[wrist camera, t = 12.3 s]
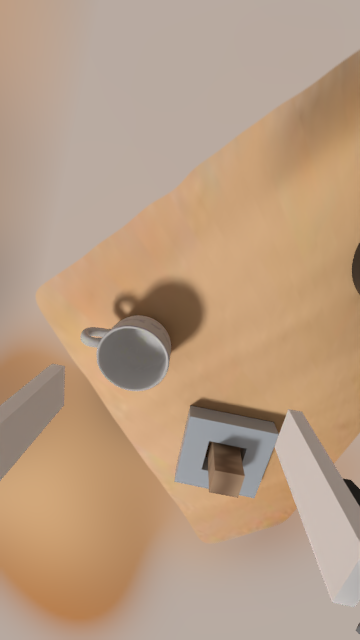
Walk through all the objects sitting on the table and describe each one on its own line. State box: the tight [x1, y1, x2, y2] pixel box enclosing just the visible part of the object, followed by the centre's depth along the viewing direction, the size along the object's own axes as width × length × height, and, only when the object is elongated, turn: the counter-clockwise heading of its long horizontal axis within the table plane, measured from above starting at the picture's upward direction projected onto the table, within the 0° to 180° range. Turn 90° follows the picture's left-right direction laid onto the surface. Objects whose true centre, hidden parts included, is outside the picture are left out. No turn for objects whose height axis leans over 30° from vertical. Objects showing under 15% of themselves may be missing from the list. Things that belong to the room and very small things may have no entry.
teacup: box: [81, 315, 171, 391], centre depth 38 cm, size 14×11×8 cm
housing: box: [175, 406, 279, 498], centre depth 46 cm, size 16×16×3 cm
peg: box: [208, 441, 245, 498], centre depth 44 cm, size 5×5×8 cm
